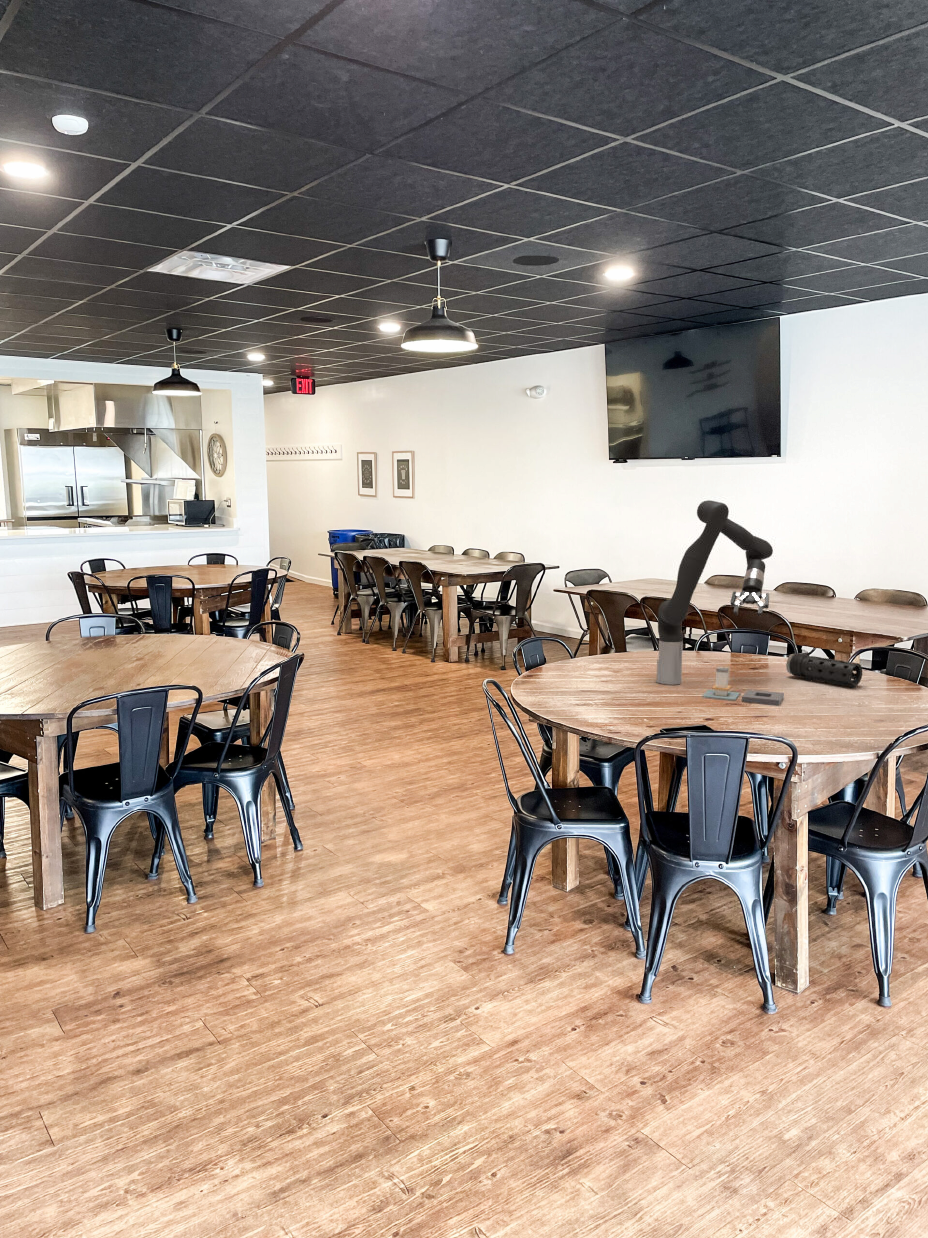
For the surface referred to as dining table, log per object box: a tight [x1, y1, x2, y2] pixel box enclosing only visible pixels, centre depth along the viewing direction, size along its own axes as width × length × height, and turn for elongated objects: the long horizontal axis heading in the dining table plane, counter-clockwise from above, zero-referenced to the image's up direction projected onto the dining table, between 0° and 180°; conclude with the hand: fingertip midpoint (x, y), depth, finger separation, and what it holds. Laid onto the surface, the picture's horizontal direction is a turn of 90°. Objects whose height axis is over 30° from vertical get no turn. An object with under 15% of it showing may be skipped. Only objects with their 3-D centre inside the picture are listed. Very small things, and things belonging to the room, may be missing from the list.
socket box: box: [741, 689, 785, 707], centre depth 321 cm, size 13×13×2 cm
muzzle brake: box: [785, 652, 863, 689], centre depth 350 cm, size 10×28×10 cm, turn 38°
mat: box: [701, 688, 741, 702], centre depth 328 cm, size 12×12×1 cm
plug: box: [711, 666, 732, 696], centre depth 327 cm, size 6×6×10 cm
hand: (747, 614), depth 340 cm, fingers open, 8 cm apart
